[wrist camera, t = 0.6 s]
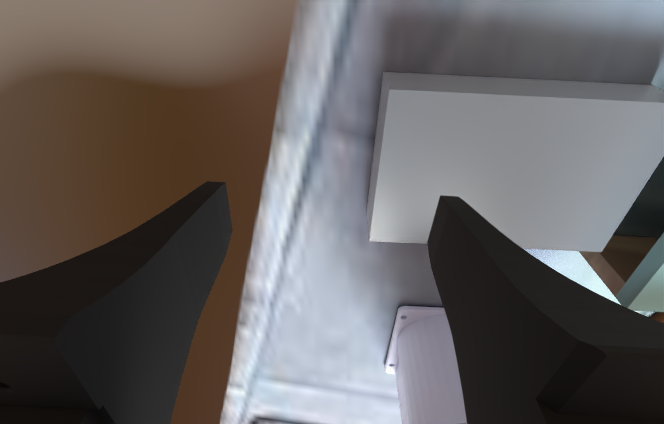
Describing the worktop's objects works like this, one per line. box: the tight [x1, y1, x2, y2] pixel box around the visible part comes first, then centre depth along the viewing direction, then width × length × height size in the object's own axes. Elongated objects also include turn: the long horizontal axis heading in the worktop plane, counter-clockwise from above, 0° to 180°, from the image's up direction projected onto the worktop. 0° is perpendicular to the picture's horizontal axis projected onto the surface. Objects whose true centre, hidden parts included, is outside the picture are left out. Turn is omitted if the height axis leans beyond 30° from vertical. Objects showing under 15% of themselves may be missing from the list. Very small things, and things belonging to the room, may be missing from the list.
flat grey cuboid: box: [366, 72, 664, 252], centre depth 20 cm, size 9×14×3 cm, turn 88°
